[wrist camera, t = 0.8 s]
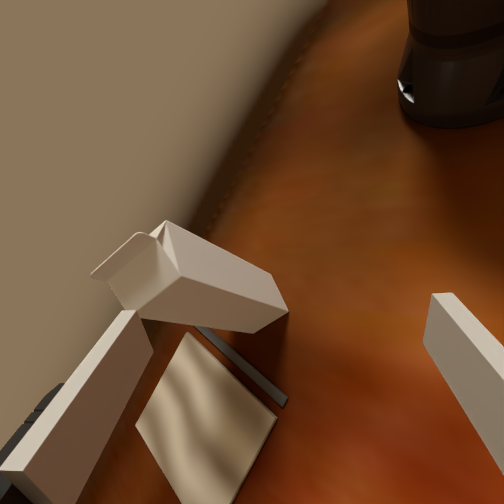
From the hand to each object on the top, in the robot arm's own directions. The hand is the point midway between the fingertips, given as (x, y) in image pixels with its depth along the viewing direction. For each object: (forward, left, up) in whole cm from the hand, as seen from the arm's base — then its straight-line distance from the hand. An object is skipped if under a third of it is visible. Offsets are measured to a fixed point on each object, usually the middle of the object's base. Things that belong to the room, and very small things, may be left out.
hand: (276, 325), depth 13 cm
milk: (+2, -14, -21) cm, 25 cm away
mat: (+19, -14, -21) cm, 31 cm away
